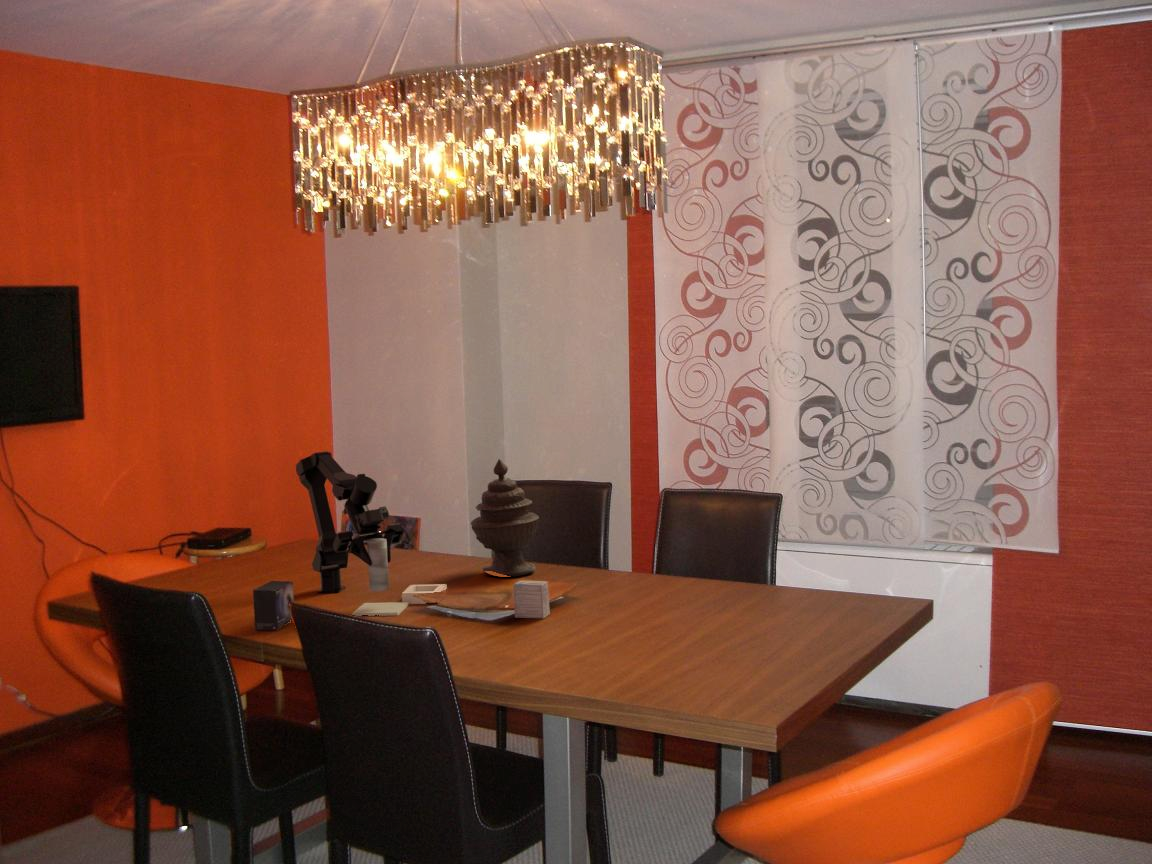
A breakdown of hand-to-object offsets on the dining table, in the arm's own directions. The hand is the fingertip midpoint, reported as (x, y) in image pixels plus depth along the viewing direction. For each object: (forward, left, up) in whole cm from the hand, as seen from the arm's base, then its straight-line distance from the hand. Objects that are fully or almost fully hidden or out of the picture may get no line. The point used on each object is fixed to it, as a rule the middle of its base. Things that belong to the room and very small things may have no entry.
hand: (380, 563), depth 296 cm
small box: (+13, -24, -13) cm, 30 cm away
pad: (-1, -1, -13) cm, 13 cm away
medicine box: (+8, +41, -13) cm, 43 cm away
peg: (-1, -1, -7) cm, 7 cm away
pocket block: (-12, +8, -13) cm, 20 cm away
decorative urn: (-43, +26, -13) cm, 52 cm away
